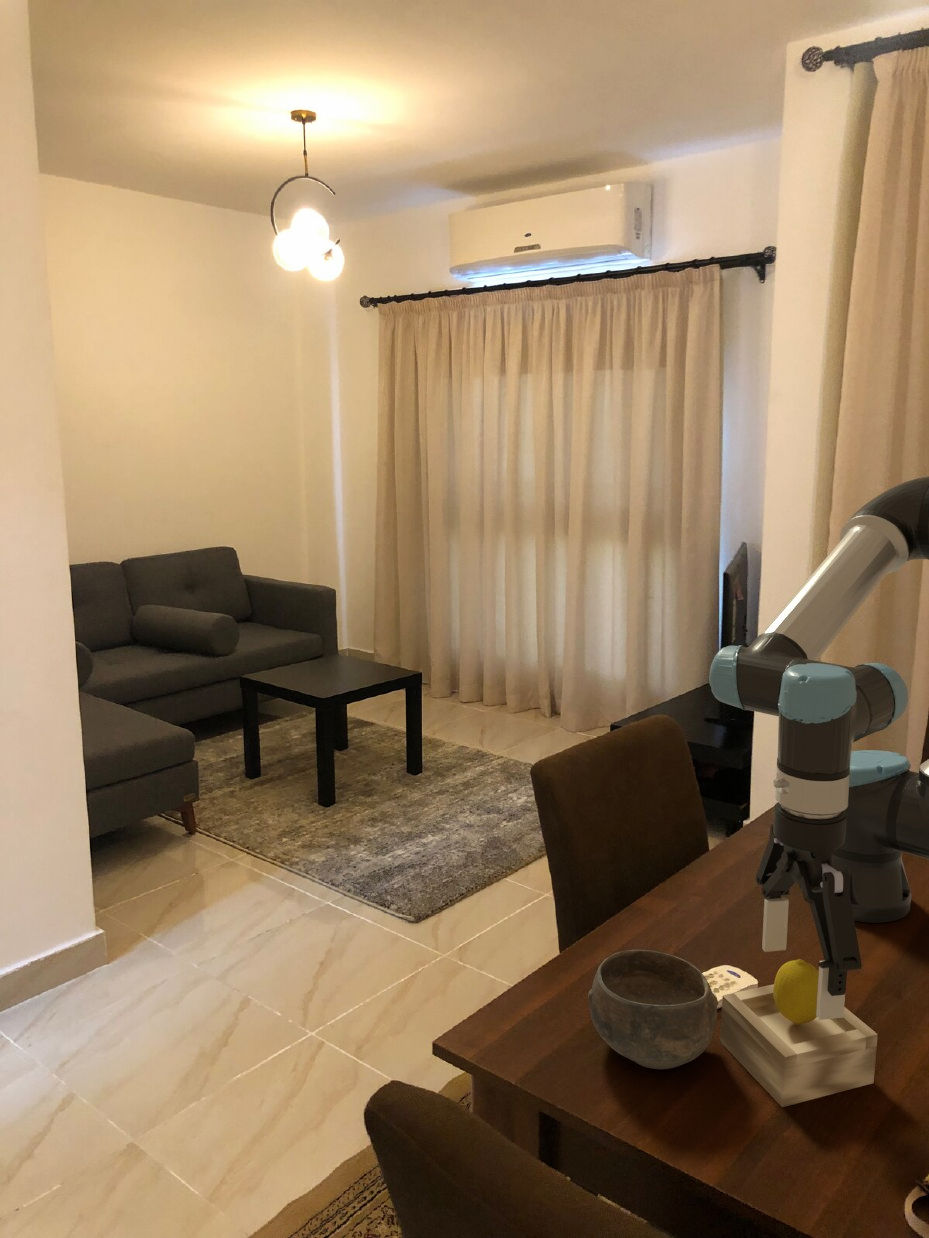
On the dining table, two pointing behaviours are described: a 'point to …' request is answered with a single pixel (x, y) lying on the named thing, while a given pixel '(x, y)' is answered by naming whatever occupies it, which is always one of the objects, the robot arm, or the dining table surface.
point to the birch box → (796, 1048)
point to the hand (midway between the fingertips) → (800, 981)
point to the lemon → (797, 991)
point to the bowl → (653, 1008)
